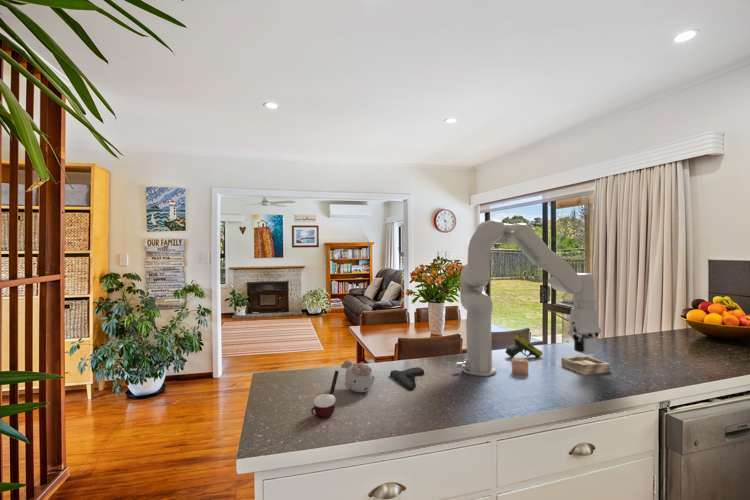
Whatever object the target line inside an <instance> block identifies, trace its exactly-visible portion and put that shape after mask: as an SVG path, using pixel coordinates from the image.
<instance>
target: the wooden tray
mask: <svg viewBox="0 0 750 500" xmlns="http://www.w3.org/2000/svg"><path fill="white" fill-rule="evenodd" d="M560 362H561V363H560V365H562V366H561V367H563V366H564V367H563V368H566V369H568V368H569V369H568V370H571V371H573V370H574V372H575V371H576V373H578V372H579V373H578V374H580V373H581V374H580V375H583V376H587V375H594V374H604V373H611V363H610V362H607V361H603V360H602V359H601V360H600V359H598V358H595V357H591V356H589V355H578V356H567V357H561V361H560ZM586 374H587V375H586Z"/></svg>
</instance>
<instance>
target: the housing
mask: <svg viewBox="0 0 750 500" xmlns="http://www.w3.org/2000/svg"><path fill="white" fill-rule="evenodd" d="M577 337H578V336H577ZM581 342H582V349H583V351H582V352H579V351H576V350H575V340H573V345H574V347H573V348H574V351H575V352H578V353H580V354H583V355H595V354H597V337H596V338H595V337H591V336H588V334H582V338H581Z"/></svg>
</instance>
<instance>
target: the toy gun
mask: <svg viewBox="0 0 750 500" xmlns="http://www.w3.org/2000/svg"><path fill="white" fill-rule="evenodd" d="M513 341H514V342H515V343H514V344H511V345H510V346H508V347H507V348H506V350H505V354H506V355H508V356H509V358H511V359H513V358H515V356H516V355H518V354H519V353H521V354H523V355H524V356H526V357H527V358H529V357H531V356H535V357H536V358H537V359H539V358H540V357H541V356H542V355H543V352H542V350H540V349H538V348H537V347H535V346H534V345H532V344H530V342H528V341H527V340H526V339H525V338H523V337H522V336H521V335H519V334H516V335H515V336H514V338H513ZM526 352H529V353H528V354H527V353H526Z"/></svg>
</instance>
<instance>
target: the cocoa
mask: <svg viewBox="0 0 750 500" xmlns="http://www.w3.org/2000/svg"><path fill="white" fill-rule="evenodd" d="M339 373H340V372H339V370H335V371H334V374H333V378H332V382H331V386H330V389H329V393H322V394H320V395H318V396H315V398H314V399H313V407H312V408H311V409H310V412H311V415H313V416H315V417H318V418H320V419H327V418H330V417H331V416H332V415H333V413H334V412H335V408H336V397H335V396H334V392H335V389H336V385H337V380H338V377H339Z"/></svg>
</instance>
